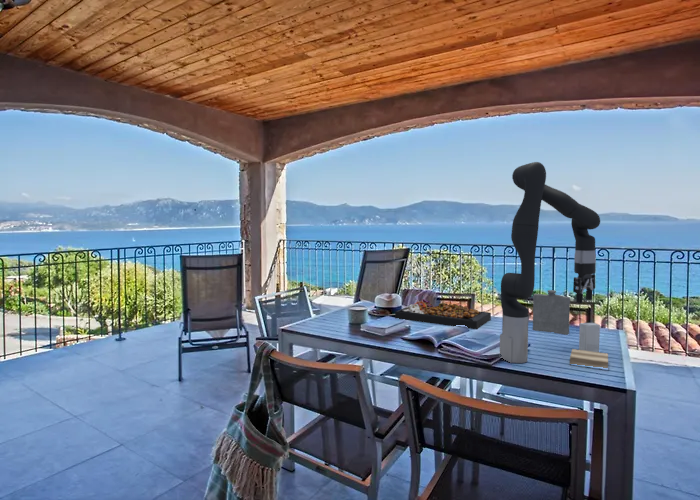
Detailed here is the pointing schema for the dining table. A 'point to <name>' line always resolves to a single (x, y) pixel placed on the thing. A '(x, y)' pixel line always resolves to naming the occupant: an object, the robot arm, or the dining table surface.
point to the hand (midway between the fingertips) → (584, 301)
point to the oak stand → (589, 358)
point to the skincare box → (589, 337)
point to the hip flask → (551, 313)
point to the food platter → (444, 314)
